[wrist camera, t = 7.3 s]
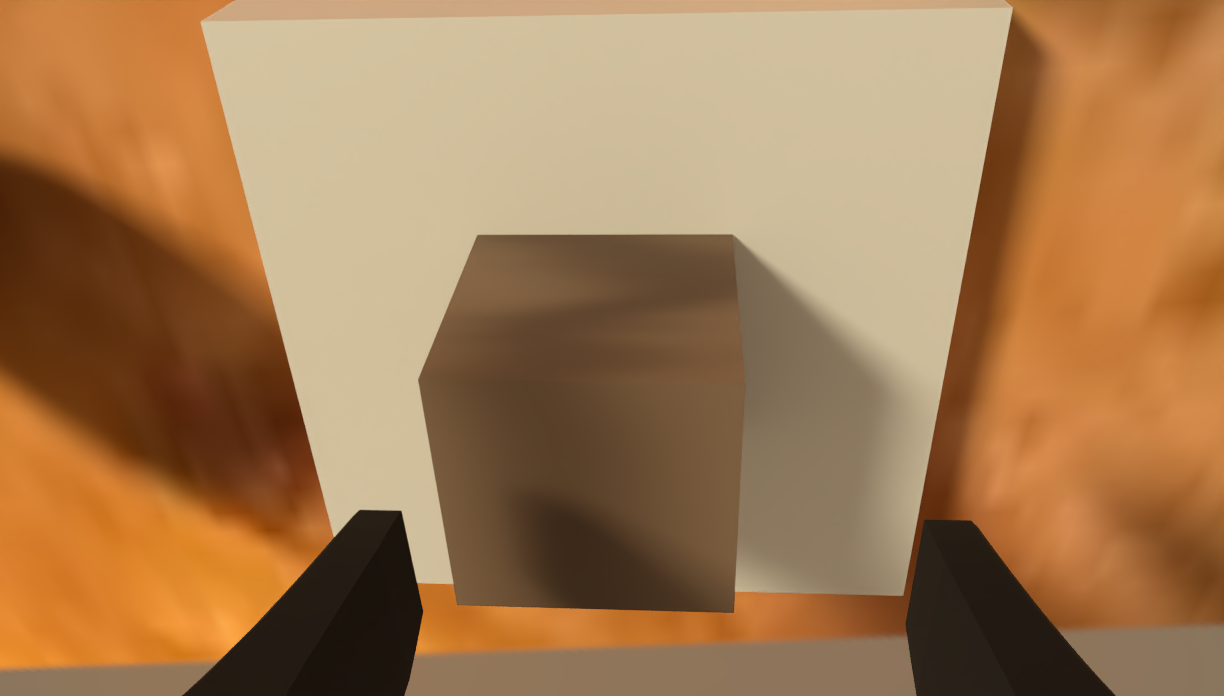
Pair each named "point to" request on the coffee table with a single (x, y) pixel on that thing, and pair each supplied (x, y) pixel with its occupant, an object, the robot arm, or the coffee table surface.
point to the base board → (629, 222)
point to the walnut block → (590, 422)
